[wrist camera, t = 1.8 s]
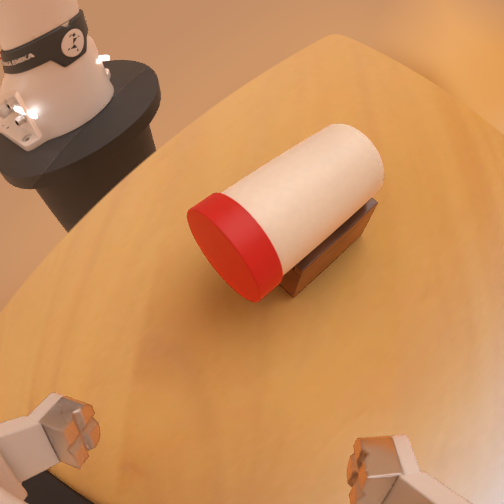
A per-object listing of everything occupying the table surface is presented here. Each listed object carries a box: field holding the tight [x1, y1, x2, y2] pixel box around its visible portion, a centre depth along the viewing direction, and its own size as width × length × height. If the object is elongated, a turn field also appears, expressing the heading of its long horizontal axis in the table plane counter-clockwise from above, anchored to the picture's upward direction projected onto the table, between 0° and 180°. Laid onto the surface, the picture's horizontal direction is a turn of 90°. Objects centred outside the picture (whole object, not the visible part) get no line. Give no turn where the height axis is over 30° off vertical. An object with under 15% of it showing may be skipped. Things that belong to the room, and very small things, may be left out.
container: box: [187, 124, 384, 302], centre depth 19 cm, size 11×6×6 cm, turn 132°
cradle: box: [280, 198, 378, 297], centre depth 23 cm, size 8×6×4 cm
